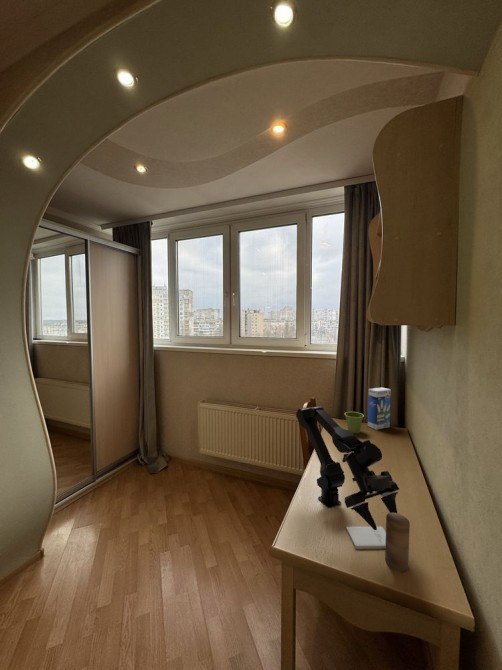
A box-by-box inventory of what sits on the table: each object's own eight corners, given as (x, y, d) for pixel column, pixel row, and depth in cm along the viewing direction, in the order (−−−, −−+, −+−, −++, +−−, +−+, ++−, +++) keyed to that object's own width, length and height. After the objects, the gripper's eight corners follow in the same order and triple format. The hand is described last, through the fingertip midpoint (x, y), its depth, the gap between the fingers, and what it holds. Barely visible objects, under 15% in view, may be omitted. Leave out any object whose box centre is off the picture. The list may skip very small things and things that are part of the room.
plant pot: (361, 428, 180) (362, 412, 179) (365, 436, 168) (365, 418, 168) (343, 427, 183) (343, 410, 182) (345, 434, 171) (345, 416, 171)
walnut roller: (381, 554, 82) (382, 512, 82) (400, 553, 83) (401, 512, 82) (392, 572, 76) (393, 527, 76) (413, 571, 77) (414, 527, 76)
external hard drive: (345, 530, 93) (381, 530, 93) (355, 550, 84) (394, 550, 85) (345, 526, 93) (381, 525, 93) (355, 545, 84) (394, 545, 85)
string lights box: (376, 430, 178) (377, 391, 177) (367, 426, 185) (367, 388, 184) (390, 426, 184) (391, 389, 182) (380, 423, 190) (381, 386, 189)
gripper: (352, 469, 83) (381, 530, 73) (395, 457, 90) (426, 511, 81) (334, 480, 90) (358, 536, 81) (375, 468, 98) (401, 518, 88)
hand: (387, 525), depth 82 cm, fingers open, 9 cm apart
